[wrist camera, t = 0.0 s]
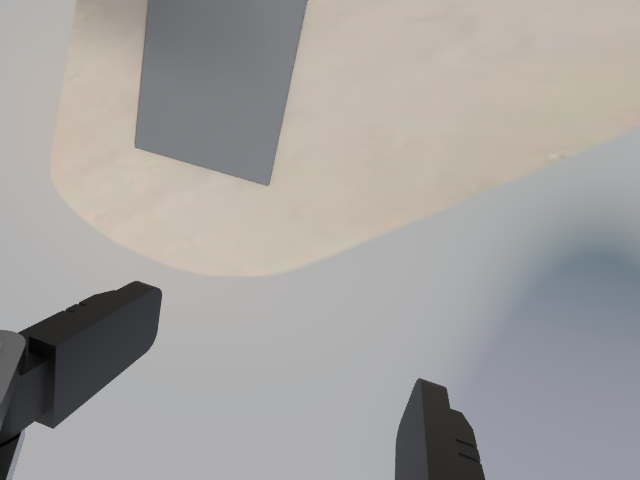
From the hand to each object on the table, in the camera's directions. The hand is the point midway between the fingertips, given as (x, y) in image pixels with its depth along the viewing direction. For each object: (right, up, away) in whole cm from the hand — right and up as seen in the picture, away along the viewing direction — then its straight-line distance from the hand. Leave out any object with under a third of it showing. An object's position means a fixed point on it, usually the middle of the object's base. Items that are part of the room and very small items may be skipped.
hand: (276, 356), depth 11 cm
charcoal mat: (-10, +20, +28) cm, 36 cm away
